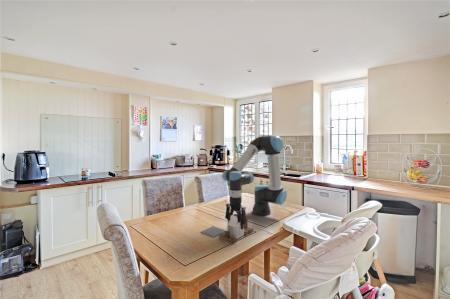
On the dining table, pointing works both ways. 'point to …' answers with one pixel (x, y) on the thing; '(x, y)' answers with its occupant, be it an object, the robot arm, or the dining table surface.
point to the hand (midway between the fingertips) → (235, 231)
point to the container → (234, 226)
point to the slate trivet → (213, 231)
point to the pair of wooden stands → (231, 239)
